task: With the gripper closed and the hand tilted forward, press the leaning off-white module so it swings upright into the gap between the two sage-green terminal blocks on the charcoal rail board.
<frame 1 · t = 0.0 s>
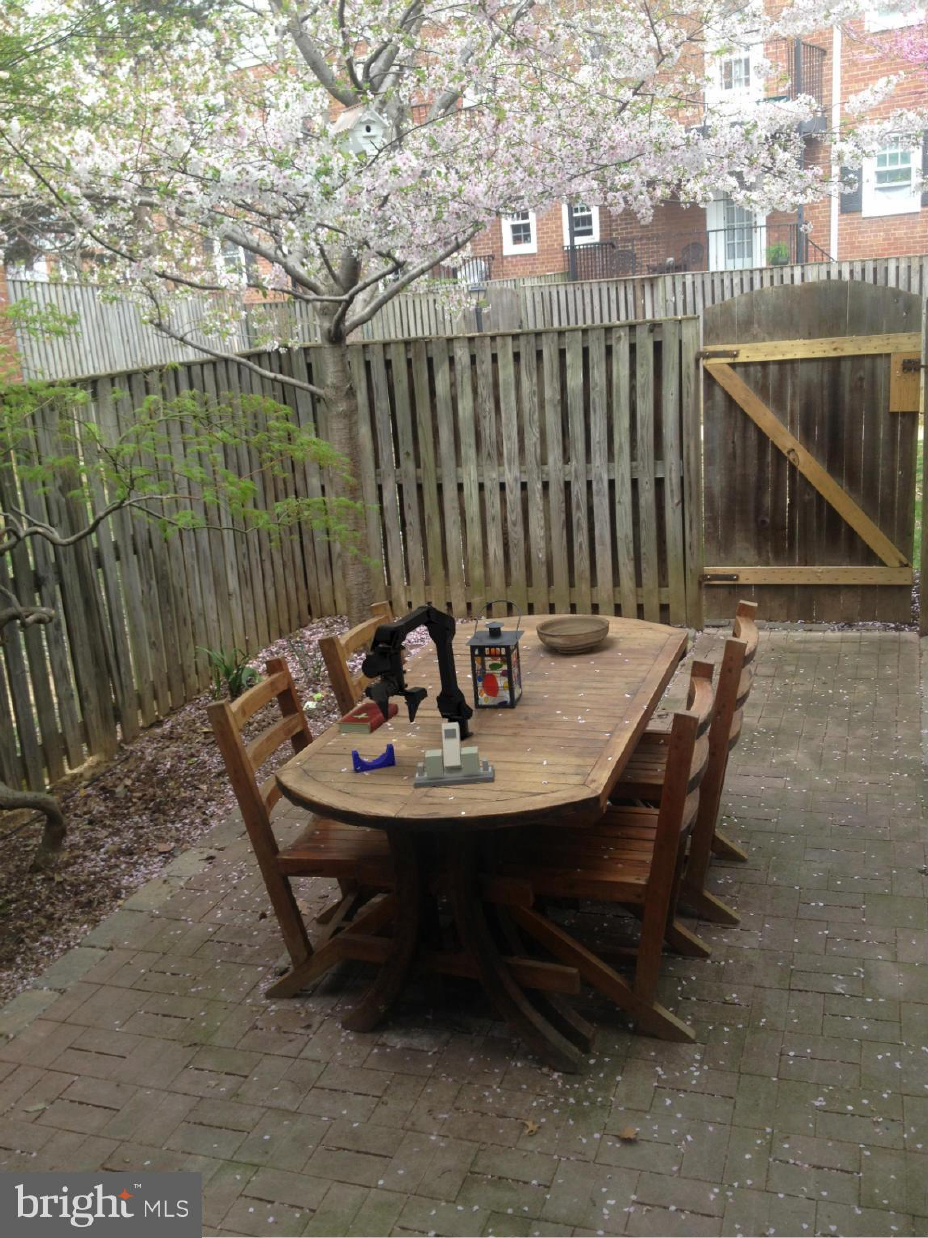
hand: (399, 720, 306), 15 cm above the table, tool pointing down, fingers open, 9 cm apart
ceramic bowl: (574, 649, 419), on the table
module: (451, 745, 299), point 9 cm above the table, hinge at 30.0°
rail board: (454, 776, 300), on the table
hardcover book: (369, 724, 354), on the table
blue cradle stand: (374, 767, 314), on the table
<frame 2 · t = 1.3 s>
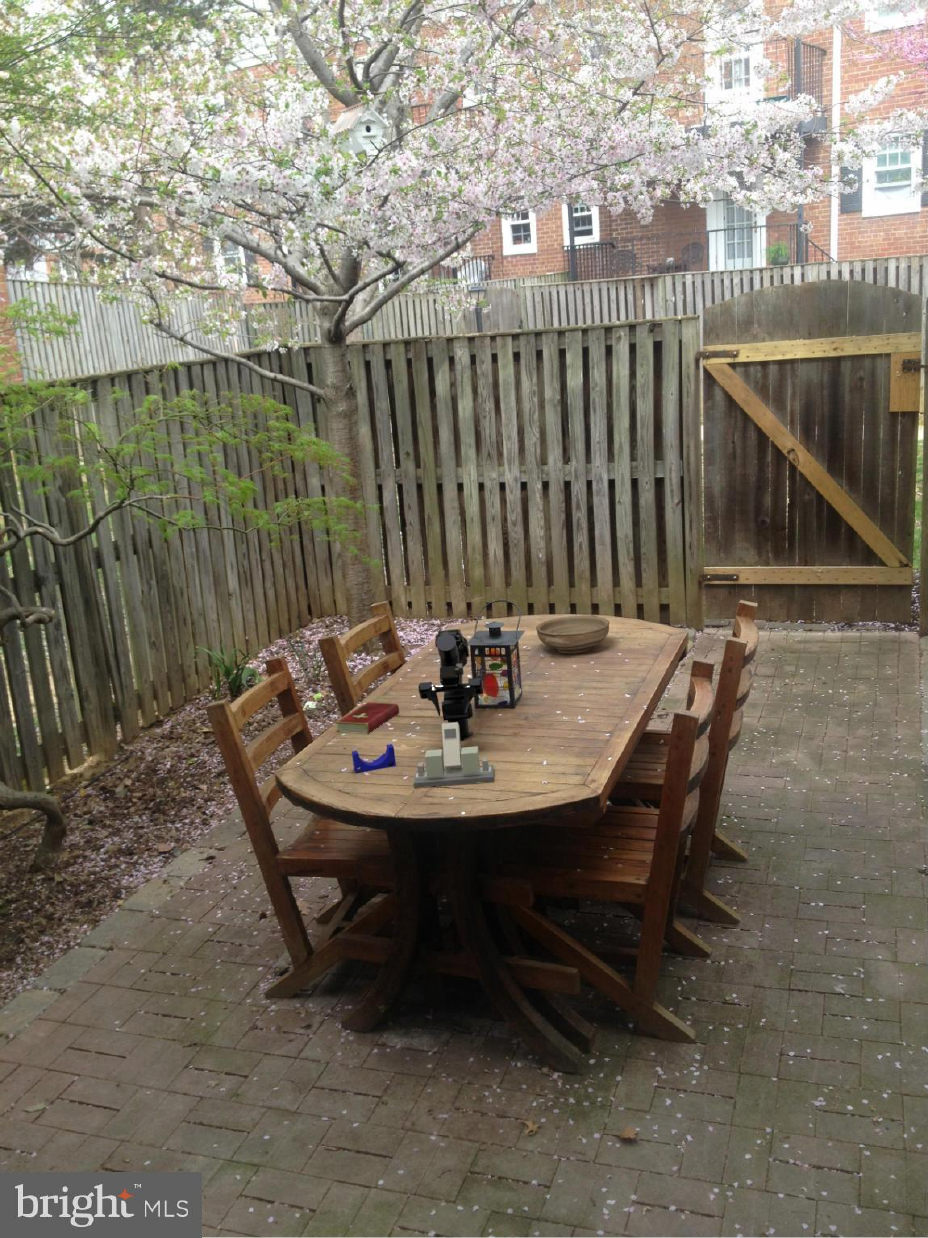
hand: (452, 714, 311), 13 cm above the table, tool tilted 45°, fingers open, 7 cm apart
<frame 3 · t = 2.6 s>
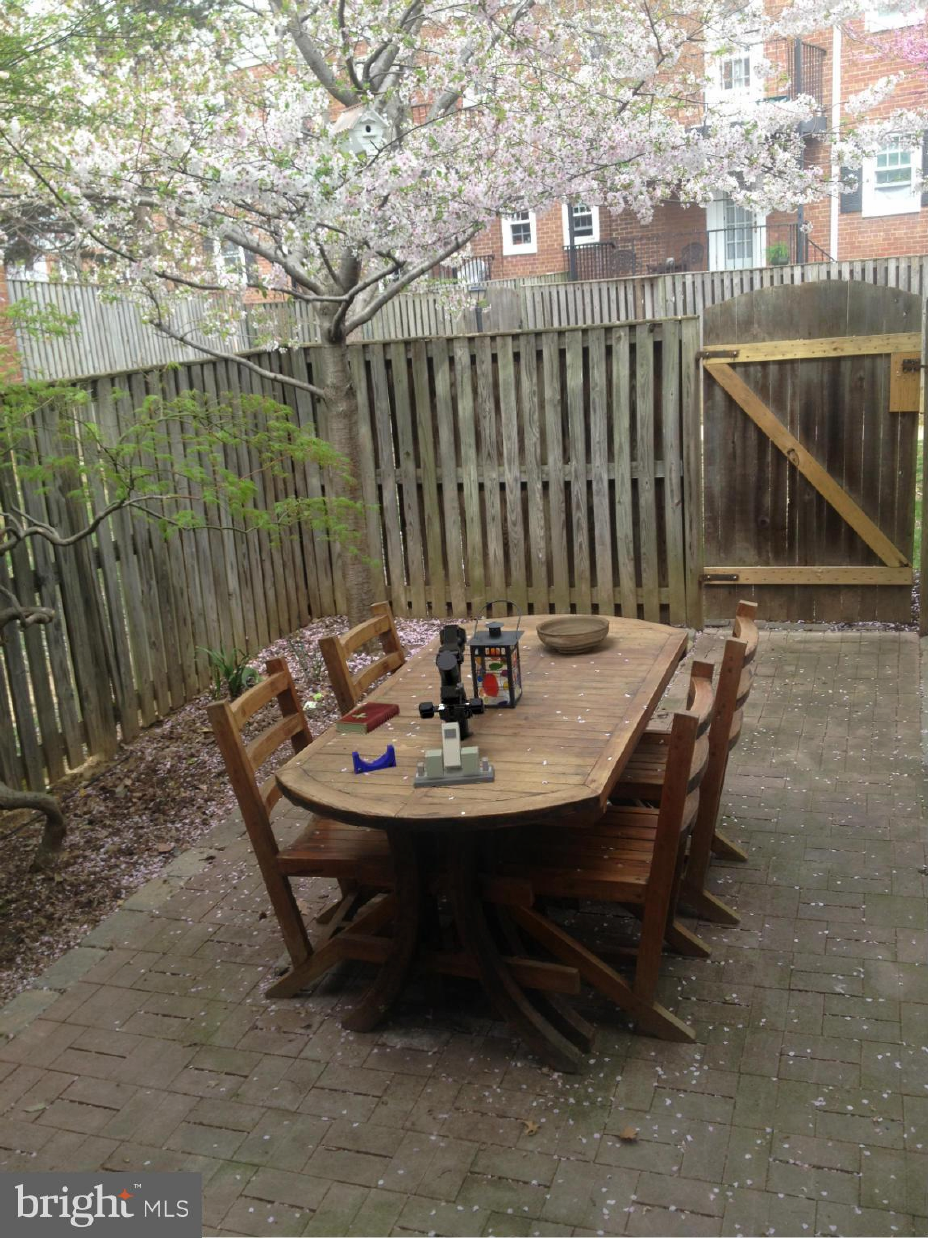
hand: (452, 734, 306), 9 cm above the table, tool tilted 45°, fingers closed
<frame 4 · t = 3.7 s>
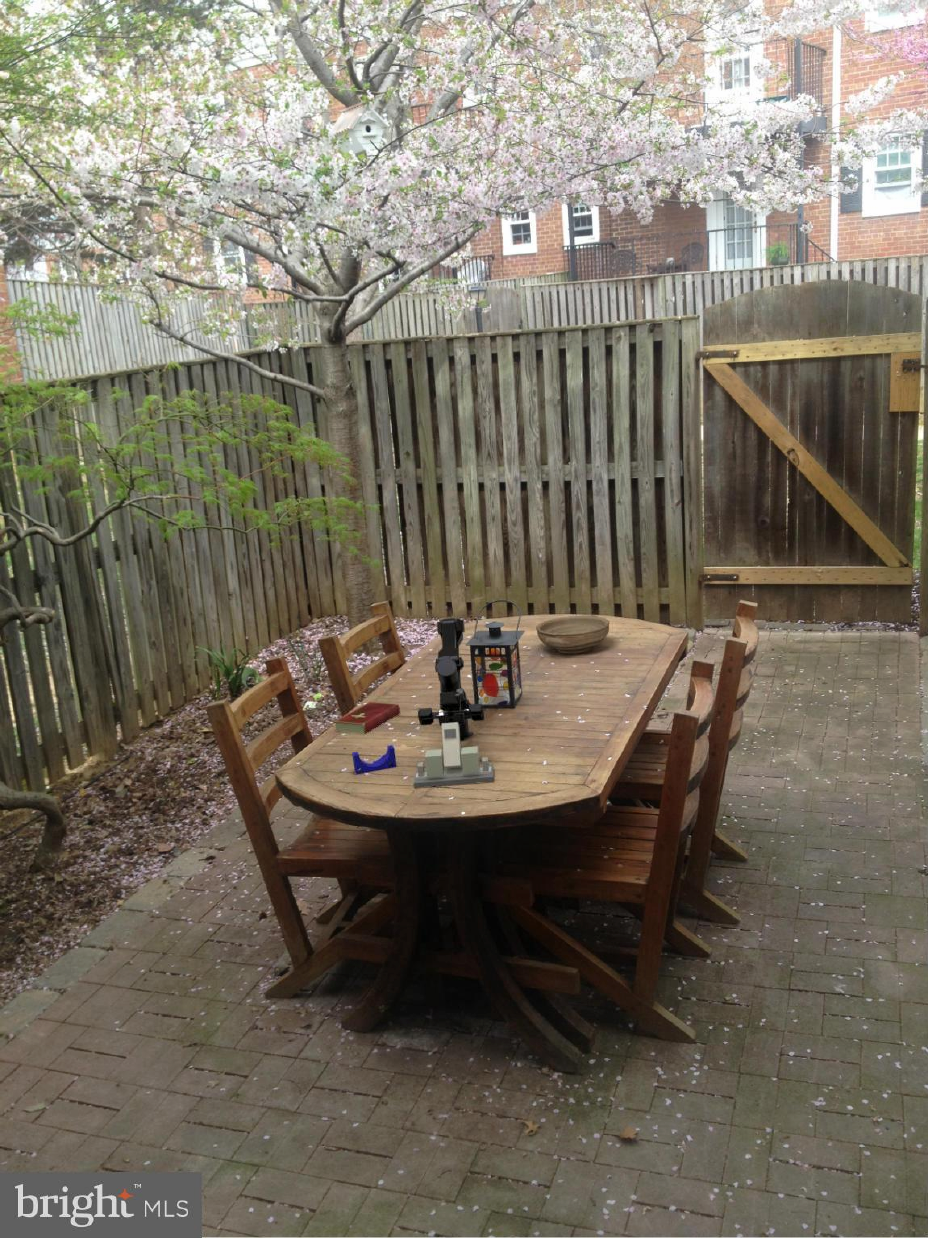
hand: (452, 741, 302), 9 cm above the table, tool tilted 45°, fingers closed, pressing on module
module: (451, 745, 298), point 9 cm above the table, hinge at 29.3°, touching gripper
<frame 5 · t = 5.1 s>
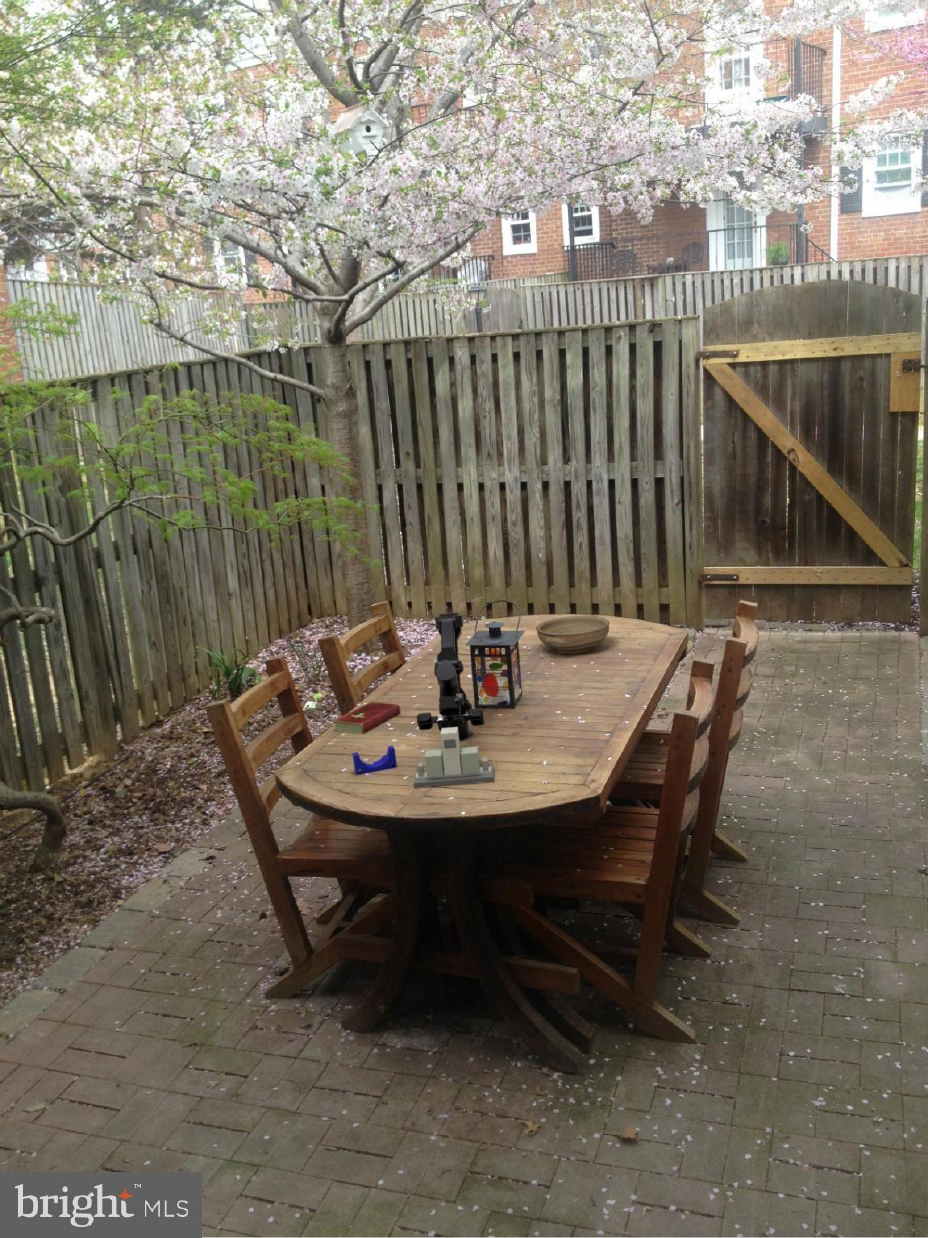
hand: (451, 746, 298), 9 cm above the table, tool tilted 45°, fingers closed, pressing on module
module: (451, 751, 295), point 8 cm above the table, hinge at 0.9°, touching gripper
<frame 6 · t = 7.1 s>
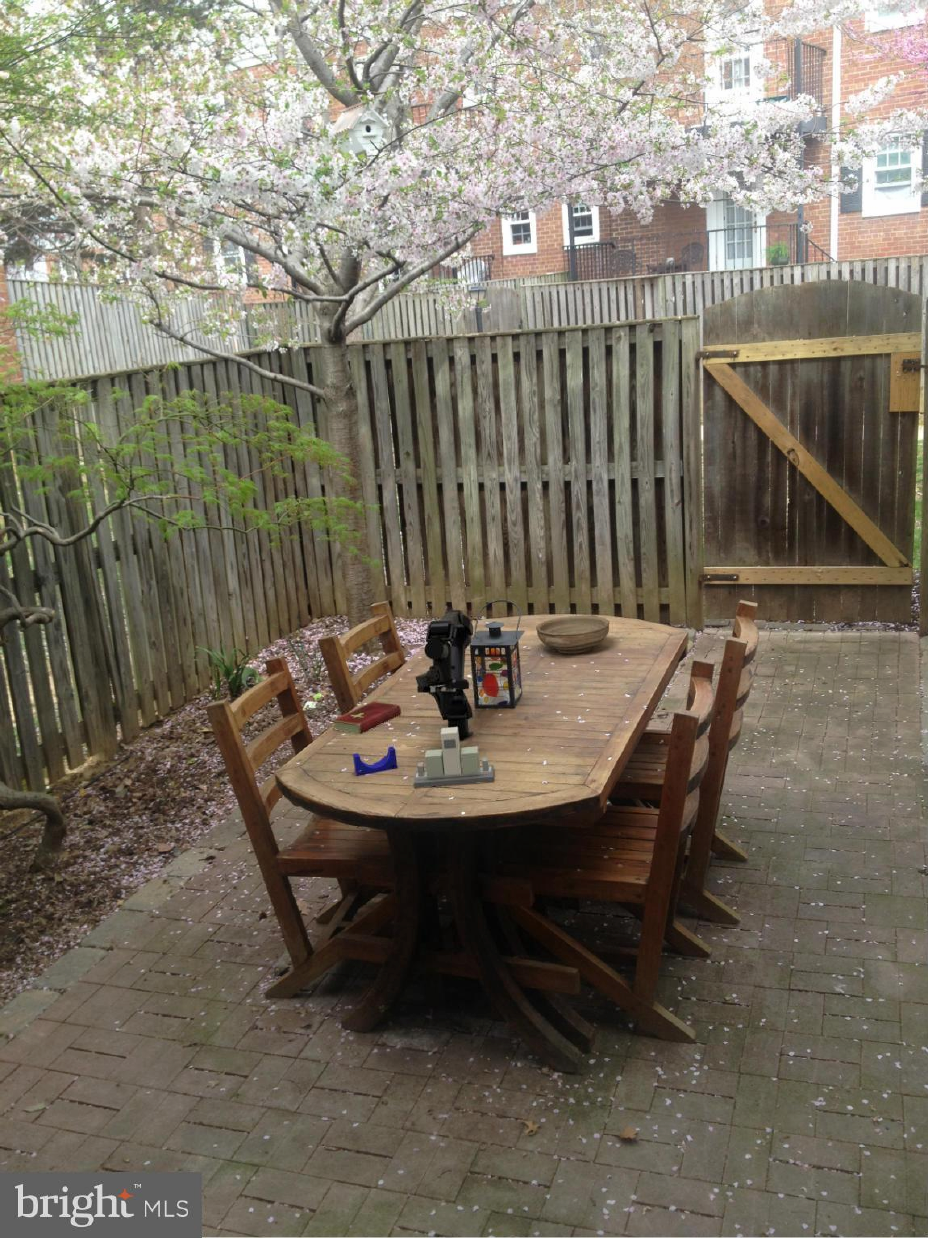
hand: (443, 715, 312), 13 cm above the table, tool tilted 20°, fingers closed
module: (451, 751, 295), point 8 cm above the table, hinge at 0.8°
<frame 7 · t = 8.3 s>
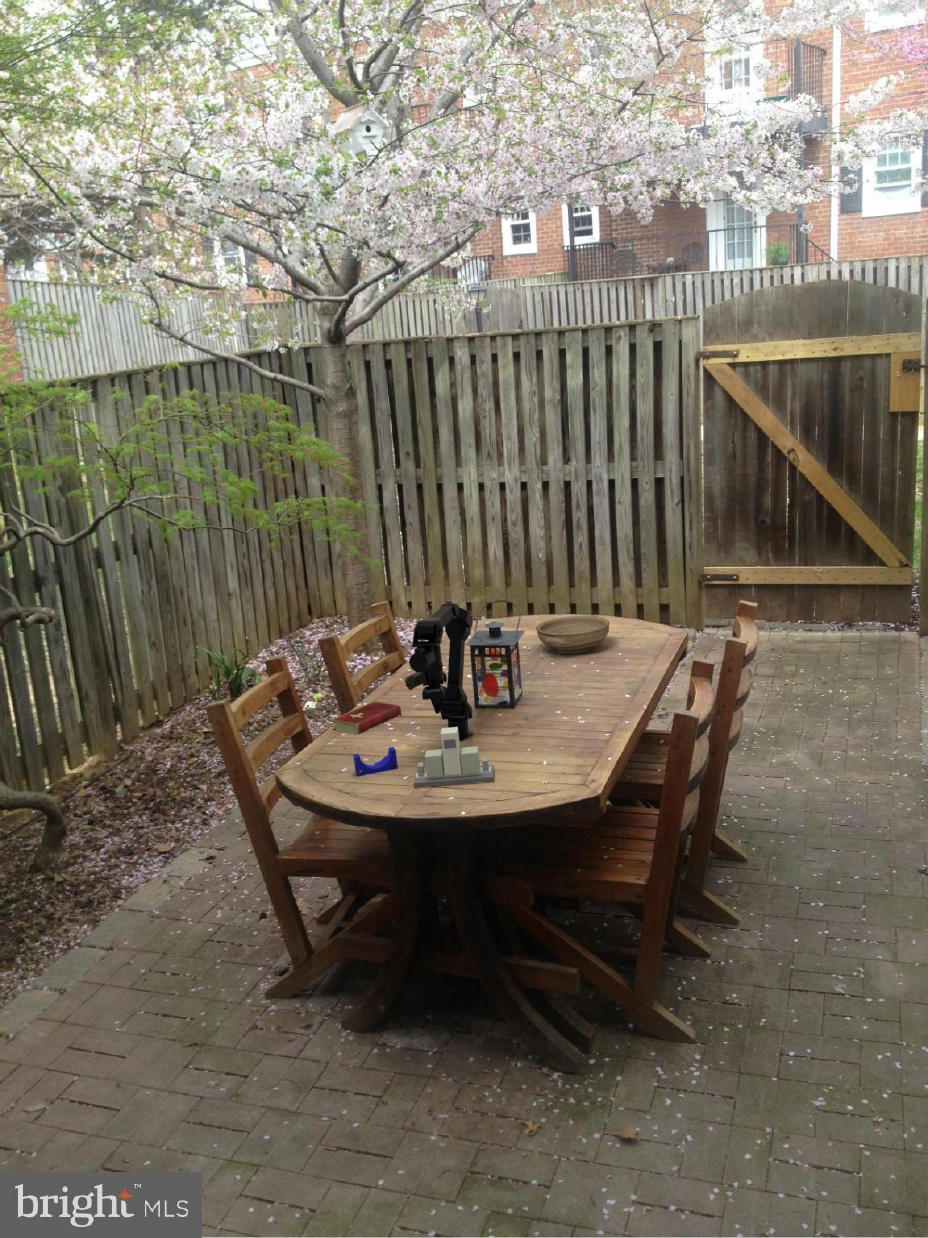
hand: (437, 713, 315), 13 cm above the table, tool pointing down, fingers closed
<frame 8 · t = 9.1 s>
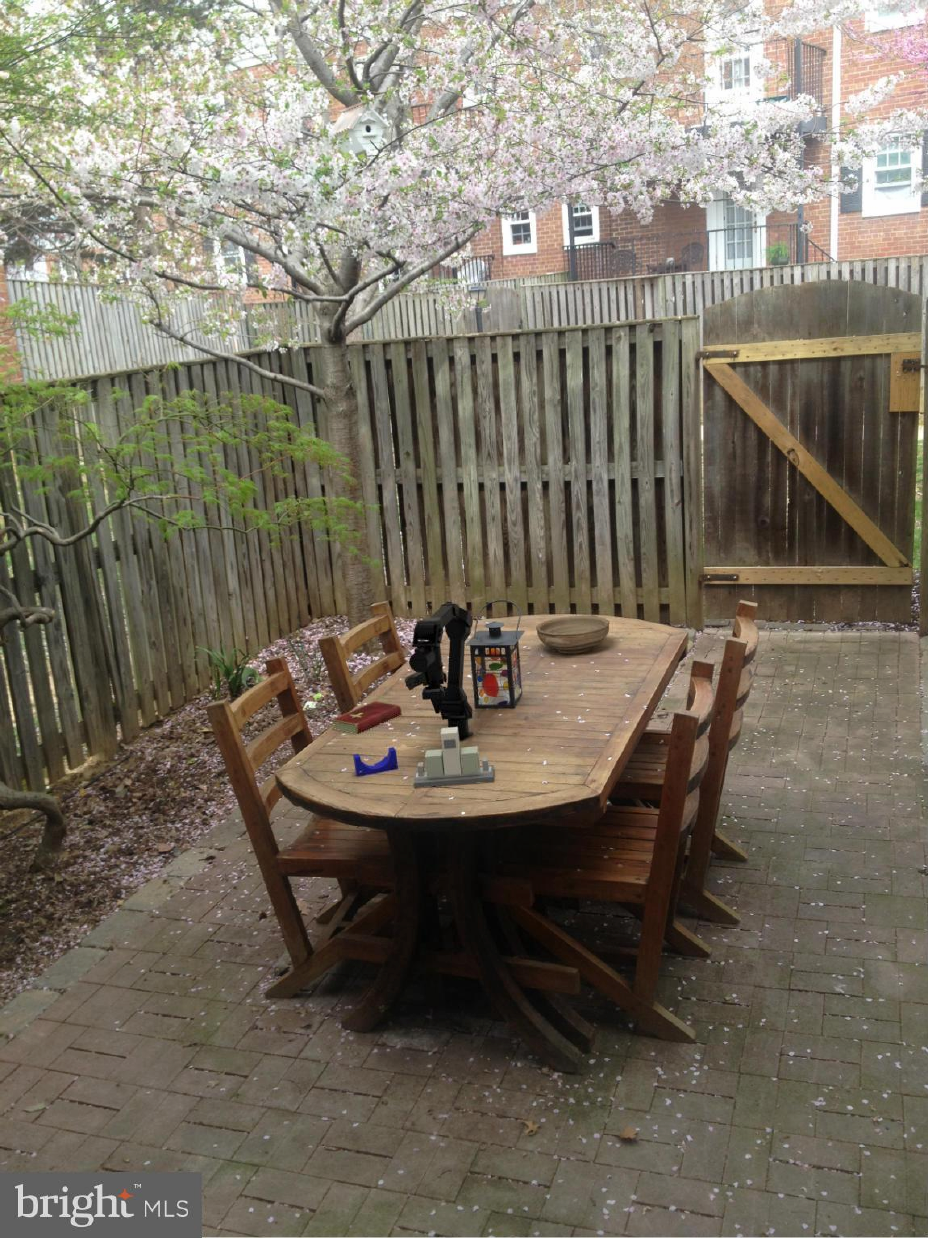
hand: (437, 713, 315), 13 cm above the table, tool pointing down, fingers closed
at the end: module at +1° (first picture: +30°); the gripper is holding nothing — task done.
